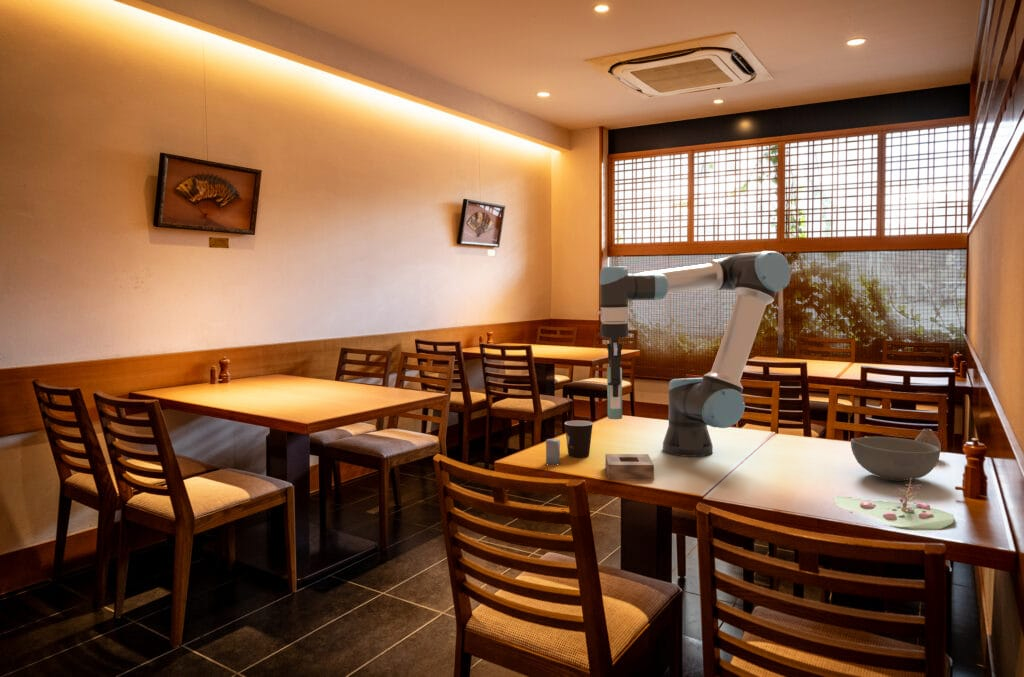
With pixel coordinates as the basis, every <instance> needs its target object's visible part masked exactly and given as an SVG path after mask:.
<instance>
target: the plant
mask: <svg viewBox="0 0 1024 677" xmlns="http://www.w3.org/2000/svg"><path fill="white" fill-rule="evenodd" d="M911 479H912V478H910V480H909V484H907V483H905V486H906V487H907V488H906V487H904V489H901V488H900V487H897V489H898V490H895V491H894V493H895V494H896V496H897V497H898V498H900V499H899V502H895V501H888V502H887V501H886V500H878V501H870V500H871V499H868V500H861V499H862V498H858V499H852V498H853V497H845V496H835V497H834V498H833V500H834V499H835V503H834V505H835V504H836V505H838V506H840V507H842V508H845V509H848V510H853V511H859V512H860V513H862V514H866V515H868V516H870V517H872V518H875V519H877V520H880V521H882V522H884V523H885V524H888V525H890V526H889V527H891V526H894V527H893V528H896V527H897V529H903V528H904V530H910V531H912V530H913V531H938V530H943V529H945V528H947V527H949V526H951V525H952V524H954V521H955V516H954V514H952V513H950V512H947V511H943V510H940V509H936V508H934V507H931V505H930V504H928V503H926V502H925V503H921V502H918V503H916V502H913V503H914V504H911V503H912V501H911V500H912V499H913V498H914V497H915V492H912V491H913V490H914V488H916V489H917V492H916V493H918V494H920V493H921V492H920V491H918V490H920V487H921V486H922V484H918V485H917V484H916V485H914V486H913V484H911V481H912V480H913V479H912V480H911ZM916 486H917V487H916ZM899 490H900V491H901V492H902V493H901V494H899V496H898V494H897V493H899ZM903 494H904V495H905V496H904V497H903ZM909 496H912V497H910V498H909ZM916 497H917V498H920V496H919V495H918V496H917V495H916ZM908 498H909V499H908ZM884 501H886V502H884ZM908 502H911V503H908ZM836 505H835V506H836Z"/></svg>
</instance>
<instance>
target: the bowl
mask: <svg viewBox="0 0 1024 677" xmlns="http://www.w3.org/2000/svg"><path fill="white" fill-rule="evenodd" d="M850 448H851V451H852V454H853V456H854V458H855V460H856V462H857V464H858V465H859V466H861V467H862V468H863V469H864V470H866V471H867V472H869V473H870V474H872V475H875V476H877V477H879V478H881V479H882V478H883V479H885V480H889V481H896V482H897V481H901V482H902V481H910V478H912V479H911V481H912V480H917V479H920V478H923V477H926V476H927V475H928V474H929V473H931V472H932V471H933V470H934V468H936V466H937V464H938V462H939V459H940V454H941V451H940V450H939V448H938V447H936V446H933V445H931V444H927V443H924V442H920V441H916V440H915V439H909V438H908V439H907V438H901V437H892V436H866V437H865V436H863V437H858V438H856V437H855V438H851V439H850Z"/></svg>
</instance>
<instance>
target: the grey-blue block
mask: <svg viewBox="0 0 1024 677" xmlns="http://www.w3.org/2000/svg"><path fill="white" fill-rule="evenodd" d="M560 442H561V440H560V439H558V438H547V439H546V440H545V465H547V464H548V465H547V466H551V465H556V466H558V465H557V464H559V465H560V464H561V457H560V456H561V455H560V454H561V450H560V449H561V446H560V444H561V443H560Z"/></svg>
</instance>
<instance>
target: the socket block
mask: <svg viewBox="0 0 1024 677" xmlns="http://www.w3.org/2000/svg"><path fill="white" fill-rule="evenodd" d="M604 459H605V463H604V464H605V465H604V466H605V471H606V474H607V479H608V480H615V479H634V481H636V480H637V481H641V480H642V481H644V480H645V481H653V480H655V464H654V463H653V460H652V459H651V457H650V455H649V454H647V453H645V454H644V453H605V458H604ZM635 479H636V480H635Z"/></svg>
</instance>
